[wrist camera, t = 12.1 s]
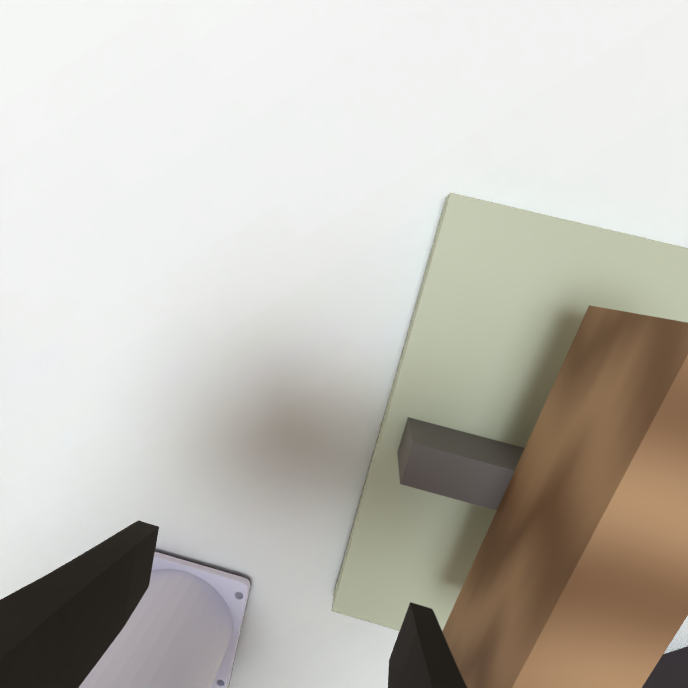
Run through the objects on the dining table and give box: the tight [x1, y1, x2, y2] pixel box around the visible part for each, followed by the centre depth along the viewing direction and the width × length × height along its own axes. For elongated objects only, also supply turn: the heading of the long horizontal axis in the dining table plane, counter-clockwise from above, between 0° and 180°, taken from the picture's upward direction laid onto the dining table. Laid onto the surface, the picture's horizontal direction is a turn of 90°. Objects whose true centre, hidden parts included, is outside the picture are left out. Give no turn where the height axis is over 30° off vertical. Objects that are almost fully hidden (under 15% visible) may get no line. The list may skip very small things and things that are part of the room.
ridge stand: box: [332, 193, 688, 631], centre depth 17 cm, size 23×14×4 cm, turn 166°
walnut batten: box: [442, 305, 688, 688], centre depth 13 cm, size 16×3×5 cm, turn 163°
